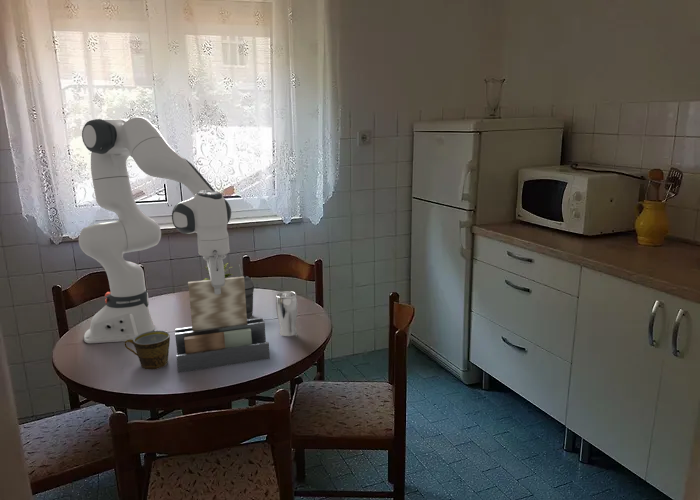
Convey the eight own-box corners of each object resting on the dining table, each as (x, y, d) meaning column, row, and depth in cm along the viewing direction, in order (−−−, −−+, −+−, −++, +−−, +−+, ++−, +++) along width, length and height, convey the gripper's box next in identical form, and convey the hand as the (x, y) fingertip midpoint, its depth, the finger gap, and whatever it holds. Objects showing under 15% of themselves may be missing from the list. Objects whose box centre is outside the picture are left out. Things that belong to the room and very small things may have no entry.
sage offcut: (222, 359, 155) (220, 334, 153) (221, 357, 157) (219, 332, 155) (252, 355, 157) (251, 330, 156) (251, 352, 159) (250, 328, 157)
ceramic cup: (177, 360, 158) (174, 330, 156) (166, 376, 148) (163, 343, 146) (134, 361, 158) (130, 331, 156) (121, 377, 148) (116, 345, 146)
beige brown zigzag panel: (194, 347, 156) (188, 283, 151) (193, 345, 157) (188, 281, 152) (248, 339, 160) (244, 277, 155) (247, 337, 162) (243, 276, 157)
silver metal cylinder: (300, 339, 172) (298, 296, 168) (279, 342, 170) (277, 298, 166) (296, 331, 178) (294, 290, 175) (276, 334, 176) (273, 292, 173)
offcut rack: (178, 377, 148) (175, 343, 145) (178, 361, 158) (175, 328, 155) (270, 363, 155) (268, 330, 153) (264, 348, 166) (262, 317, 163)
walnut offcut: (187, 368, 149) (184, 339, 147) (187, 365, 151) (184, 337, 149) (226, 363, 153) (224, 334, 151) (225, 360, 155) (223, 331, 152)
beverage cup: (251, 320, 189) (248, 267, 184) (233, 319, 190) (228, 266, 186) (259, 313, 196) (255, 262, 191) (240, 312, 197) (237, 261, 192)
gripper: (228, 254, 142) (231, 302, 146) (222, 238, 161) (225, 281, 165) (204, 256, 141) (208, 305, 144) (201, 240, 160) (204, 283, 163)
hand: (217, 292), depth 155 cm, fingers closed on beige brown zigzag panel, 1 cm apart
